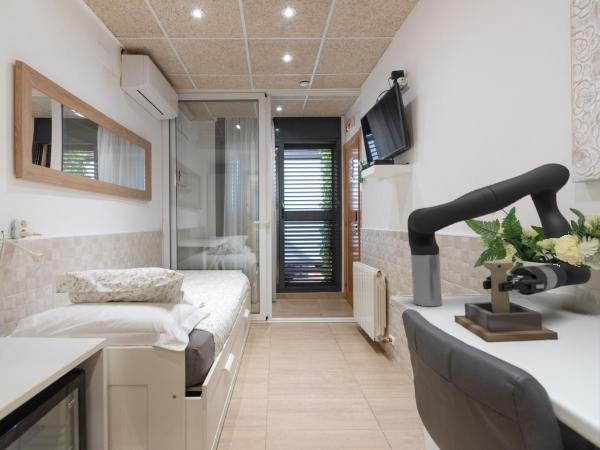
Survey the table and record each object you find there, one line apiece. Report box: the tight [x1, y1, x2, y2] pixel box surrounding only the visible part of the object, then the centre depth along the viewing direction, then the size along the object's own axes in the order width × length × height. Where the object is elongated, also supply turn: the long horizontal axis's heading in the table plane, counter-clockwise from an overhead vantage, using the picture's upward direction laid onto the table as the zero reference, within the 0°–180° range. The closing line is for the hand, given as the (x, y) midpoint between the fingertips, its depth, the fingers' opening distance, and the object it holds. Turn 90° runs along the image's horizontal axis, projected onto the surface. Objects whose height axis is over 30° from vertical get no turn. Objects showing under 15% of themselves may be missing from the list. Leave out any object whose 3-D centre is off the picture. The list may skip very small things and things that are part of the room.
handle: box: [483, 260, 514, 313], centre depth 80 cm, size 5×6×15 cm
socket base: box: [454, 301, 559, 343], centre depth 80 cm, size 16×16×6 cm
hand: (492, 286), depth 79 cm, fingers closed on handle, 3 cm apart
